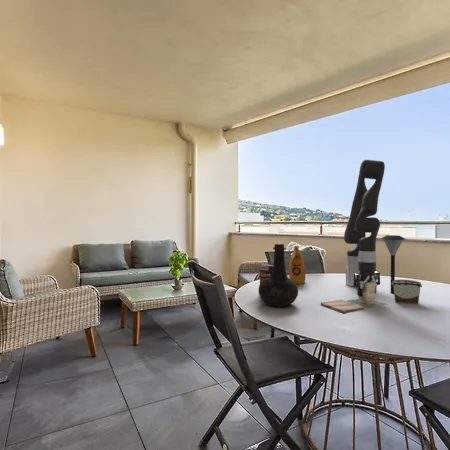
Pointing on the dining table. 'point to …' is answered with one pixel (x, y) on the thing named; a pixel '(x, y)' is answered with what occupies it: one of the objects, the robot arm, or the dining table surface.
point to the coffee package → (297, 267)
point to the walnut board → (342, 306)
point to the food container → (406, 291)
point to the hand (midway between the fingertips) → (366, 295)
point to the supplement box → (265, 271)
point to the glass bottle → (278, 283)
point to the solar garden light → (392, 252)
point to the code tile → (366, 304)
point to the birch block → (368, 293)
